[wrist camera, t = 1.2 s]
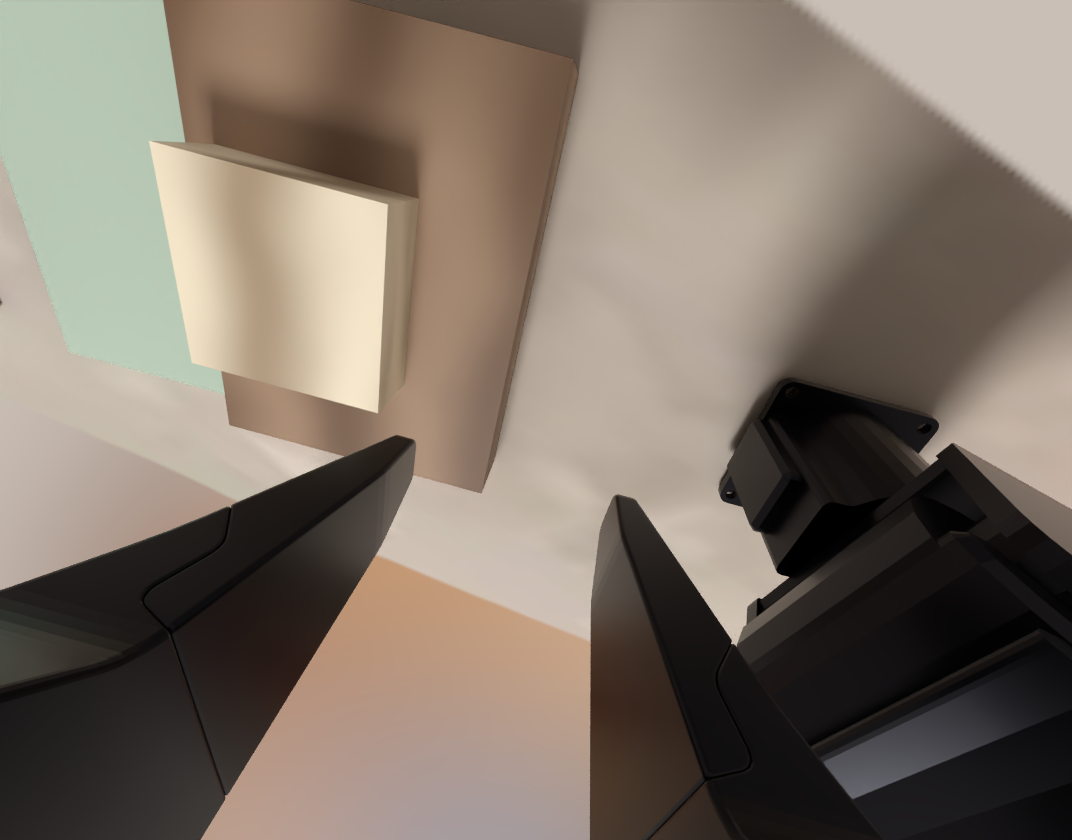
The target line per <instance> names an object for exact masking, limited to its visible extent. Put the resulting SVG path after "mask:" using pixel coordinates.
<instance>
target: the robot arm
mask: <svg viewBox="0 0 1072 840" xmlns="http://www.w3.org/2000/svg"><path fill="white" fill-rule="evenodd" d="M789 388H795V391H794V392H793V393H791V394H785V392H786V391H787V390H788V389H789ZM924 423H925V426H923V427H922V428H920V429H917V428H918V427H919V426H920V425H921V424H924ZM938 428H939V423H938V422H937V420H936V419H934V418H933V417H932V416H930V415H928V414H926V413H923V412H919V411H915V410H911V409H908V408H904V407H900V406H896V405H893V404H889V403H885V402H882V401H878V400H874V399H870V398H867V397H863V396H859V395H855V394H852V393H848V392H844V391H840V390H837V389H833V388H829V387H826V386H822V385H818V384H814V383H811V382H807V381H803V380H799V379H796V378H787V379H784V380H782V381H781V382H779V384H778V385H777V386H776V388H775V390H774V391H773V393H772V395H771V397H770V398H769V400H768V402H767V404H766V405H765V407H764V409H763V411H762V412H761V414H760V416H759V418H758V419H756V420H755V421H753V422H751V424H750V426H749V427H748V429H747V431H746V433H745V435H744V436H743V438H742V440H741V442H740V443H739V445H738V447H737V449H736V451H735V452H734V454H733V456H732V458H731V459H730V461H729V463H728V465H727V468H728V472H727V474H726V476H725V477H724V479H723V481H722V483H721V485H720V486H719V489H718V491H719V494H720V497H721V499H722V500H723V501H724V502H726V503H730V504H734V505H737V506H741V507H743V509H744V511H745V514H746V516H747V519H748V521H749V524H750V526H751V528H752V529H753V531H756V532H760V533H761V535H762V537H763V539H764V542H765V544H766V547H767V549H768V552H769V554H770V556H771V559H772V561H773V564H774V566H775V569H776V571H777V573H779V574H781V575H784V576H788V577H789V578H788V579H787V580H785V581H784V582H783V583H782V584H780V585H779V586H778V587H777V588H775V589H774V590H773V591H772V592H770V593H769V594H768V595H767V596H765V597H764V598H763V599H760V598H758V599H756V600H755V601H754V602H753V603H751V604H750V605H749V606H748V608H747V624H746V626H744V627H743V630H742V632H741V635H740V638H739V641H738V643H737V647H736V646H735V645H734V644H731V642H732V640H731V638H730V637H729V636H728V634H727V633H726V631H725V630H724V628H723V627H722V625H721V624H720V622H719V621H718V619H717V618H716V617H715V615H714V614H713V612H712V611H711V609H710V608H709V606H708V605H707V603H706V602H705V600H704V599H703V598H702V596H701V595H700V593H699V592H698V590H697V589H696V587H695V586H694V584H693V583H692V581H691V580H690V578H689V577H688V576H687V574H686V573H685V571H684V570H683V568H682V567H681V565H680V564H679V562H678V561H677V559H676V558H675V557H674V555H673V554H672V552H671V551H670V549H669V548H668V546H667V545H666V543H665V542H664V540H663V539H662V538H661V536H660V535H659V533H658V532H657V530H656V529H655V527H654V526H653V524H652V523H651V521H650V520H649V519H648V517H647V516H646V514H645V513H644V511H643V510H642V508H641V507H640V505H639V504H638V502H637V501H636V500H635V499H633V498H630V497H626V496H622V495H619V494H617V495H615V496H614V497H613V498H612V501H611V503H610V505H609V508H608V510H607V513H606V515H605V518H604V520H603V522H602V525H601V529H600V534H599V542H598V550H597V558H596V566H595V573H594V581H593V589H592V599H591V693H590V698H591V700H590V701H591V702H590V706H591V707H590V709H591V711H590V722H591V723H590V724H591V725H590V840H1072V509H1070V508H1068V507H1066V506H1065V505H1063V504H1061V503H1059V502H1058V501H1056V500H1054V499H1052V498H1050V497H1049V496H1047V495H1045V494H1043V493H1042V492H1040V491H1038V490H1036V489H1034V488H1033V487H1031V486H1029V485H1027V484H1026V483H1024V482H1022V481H1020V480H1018V479H1017V478H1015V477H1013V476H1011V475H1010V474H1008V473H1006V472H1004V471H1002V470H1001V469H999V468H997V467H995V466H994V465H992V464H990V463H988V462H986V461H985V460H983V459H981V458H979V457H978V456H976V455H974V454H972V453H970V452H969V451H967V450H965V449H963V448H962V447H960V446H958V445H956V444H954V443H951V444H950V445H949V446H948V447H946V448H945V449H944V450H943V451H941V452H940V453H939V454H938V455H936V457H937V458H938V460H937V461H936V462H934V463H933V464H932V465H931V466H930V465H929V464H928V463H927V462H926V461H925V460H924V459H923V458H922V457H921V456H920V455H919V452H920V451H921V450H922V449H923V448H924V446H925V445H926V444H927V443H928V442H929V440H930V439H931V438H932V437H933V435H934V434H935V433H936V432H937V430H938ZM415 453H416V442H415V440H414V439H411V438H407V437H404V436H400V435H394V436H391V437H389V438H387V439H384V440H382V441H380V442H377V443H375V444H373V445H370V446H368V447H366V448H363V449H361V450H359V451H356V452H354V453H352V454H349V455H347V456H345V457H342V458H340V459H338V460H335V461H333V462H331V463H328V464H326V465H324V466H321V467H319V468H316V469H314V470H312V471H309V472H307V473H305V474H302V475H300V476H298V477H295V478H293V479H291V480H288V481H286V482H284V483H281V484H279V485H277V486H274V487H272V488H270V489H267V490H265V491H263V492H260V493H258V494H256V495H253V496H251V497H249V498H246V499H244V500H242V501H239V502H237V503H235V504H233V505H232V506H231V508H230V507H225V508H222V509H220V510H218V511H215V512H213V513H211V514H209V515H206V516H204V517H201V518H199V519H196V520H194V521H191V522H189V523H186V524H184V525H181V526H179V527H176V528H174V529H172V530H169V531H167V532H164V533H161V534H159V535H156V536H153V537H150V538H147V539H145V540H142V541H139V542H137V543H134V544H131V545H128V546H126V547H123V548H120V549H117V550H114V551H112V552H109V553H106V554H103V555H100V556H98V557H95V558H92V559H89V560H86V561H83V562H80V563H77V564H74V565H72V566H69V567H66V568H63V569H60V570H57V571H54V572H52V573H49V574H46V575H43V576H40V577H37V578H34V579H32V580H29V581H26V582H23V583H21V584H17V585H14V586H12V587H9V588H5V589H2V590H0V840H200V839H201V838H202V836H203V835H204V833H205V831H206V830H207V828H208V826H209V825H210V823H211V821H212V820H213V818H214V817H215V815H216V814H217V812H218V810H219V809H220V807H221V805H222V804H223V802H224V801H225V795H228V793H229V792H230V790H231V789H232V787H233V785H234V784H235V782H236V780H237V779H238V777H239V776H240V774H241V772H242V771H243V769H244V768H245V766H246V764H247V763H248V761H249V760H250V758H251V756H252V754H253V753H254V751H255V750H256V748H257V747H258V745H259V743H260V742H261V740H262V738H263V737H264V735H265V733H266V732H267V730H268V729H269V727H270V726H271V723H272V722H273V721H274V719H275V717H276V716H277V714H278V713H279V711H280V709H281V708H282V706H283V704H284V703H285V701H286V700H287V698H288V696H289V695H290V693H291V691H292V690H293V688H294V687H295V685H296V683H297V682H298V680H299V678H300V677H301V675H302V674H303V672H304V670H305V669H306V667H307V666H308V664H309V662H310V661H311V659H312V657H313V656H314V654H315V653H316V651H317V649H318V648H319V646H320V644H321V643H322V641H323V639H324V638H325V636H326V635H327V633H328V631H329V630H330V628H331V626H332V625H333V623H334V622H335V620H336V619H337V617H338V615H339V613H340V612H341V610H342V609H343V607H344V606H345V604H346V602H347V601H348V599H349V597H350V596H351V594H352V593H353V591H354V589H355V588H356V586H357V584H358V583H359V581H360V580H361V578H362V576H363V575H364V573H365V571H366V570H367V568H368V567H369V565H370V563H371V562H372V560H373V558H374V557H375V555H376V554H377V552H378V550H379V548H380V547H381V545H382V543H383V541H384V539H385V537H386V535H387V532H388V530H389V528H390V526H391V524H392V522H393V519H394V517H395V515H396V513H397V511H398V509H399V506H400V504H401V502H402V500H403V498H404V496H405V494H406V491H407V489H408V487H409V485H410V483H411V480H412V477H413V472H414V463H415ZM731 490H733V491H734V492H733V493H731V494H727V492H728V491H731Z"/></svg>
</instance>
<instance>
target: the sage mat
mask: <svg viewBox="0 0 1072 840" xmlns="http://www.w3.org/2000/svg"><path fill="white" fill-rule="evenodd" d="M149 141H165V142H185V138H184V131H183V125H182V119H181V112H180V106H179V99H178V93H177V87H176V80H175V74H174V68H173V61H172V55H171V49H170V42H169V36H168V29H167V23H166V17H165V10H164V4H163V0H0V154H1V157H2V160H3V163H4V166H5V169H6V172H7V174H8V177H9V180H10V183H11V186H12V189H13V192H14V195H15V198H16V201H17V203H18V206H19V209H20V212H21V215H22V218H23V221H24V224H25V227H26V229H27V232H28V235H29V238H30V241H31V244H32V247H33V250H34V253H35V256H36V258H37V261H38V264H39V267H40V270H41V273H42V276H43V279H44V282H45V285H46V287H47V290H48V293H49V296H50V299H51V302H52V305H53V308H54V311H55V314H56V316H57V319H58V322H59V325H60V328H61V331H62V334H63V337H64V340H65V343H66V345H67V348H68V351H69V352H70V353H74V354H78V355H81V356H85V357H89V358H92V359H96V360H100V361H104V362H107V363H111V364H115V365H118V366H122V367H126V368H129V369H133V370H137V371H140V372H144V373H148V374H152V375H155V376H159V377H163V378H166V379H170V380H174V381H177V382H181V383H185V384H188V385H192V386H196V387H199V388H203V389H207V390H211V391H214V392H218V393H222V394H225V392H224V386H223V380H222V373H221V371H220V370H216V369H212V368H209V367H205V366H201V365H198V364H194V363H192V361H191V356H190V351H189V346H188V341H187V335H186V330H185V325H184V320H183V315H182V309H181V304H180V299H179V294H178V289H177V283H176V278H175V273H174V268H173V263H172V258H171V252H170V247H169V242H168V237H167V232H166V226H165V221H164V216H163V211H162V206H161V201H160V195H159V190H158V185H157V180H156V175H155V169H154V164H153V159H152V154H151V149H150V144H149Z"/></svg>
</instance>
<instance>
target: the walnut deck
mask: <svg viewBox="0 0 1072 840" xmlns="http://www.w3.org/2000/svg"><path fill="white" fill-rule="evenodd" d="M163 4H164V10H165V17H166V23H167V29H168V36H169V42H170V49H171V55H172V61H173V68H174V74H175V80H176V87H177V93H178V99H179V106H180V112H181V119H182V125H183V131H184V138H185V143H205V144H216V145H219V146H223V147H227V148H231V149H234V150H238V151H242V152H246V153H249V154H253V155H257V156H261V157H264V158H268V159H272V160H276V161H279V162H283V163H287V164H291V165H294V166H298V167H302V168H306V169H309V170H313V171H317V172H321V173H324V174H328V175H332V176H336V177H339V178H343V179H347V180H351V181H354V182H358V183H362V184H366V185H369V186H373V187H377V188H381V189H384V190H388V191H392V192H396V193H399V194H403V195H407V196H411V197H414V198H418V199H419V204H418V216H417V229H416V241H415V254H414V267H413V279H412V292H411V304H410V317H409V329H408V342H407V354H406V367H405V379H404V386H403V387H402V388H401V389H400V390H399V391H398V392H397V393H396V394H395V395H394V396H393V398H392V399H391V400H390V401H389V402H388V403H387V404H386V405H385V406H384V407H383V408H382V409H381V410H380V412H379V413H375V412H371V411H368V410H364V409H360V408H357V407H353V406H349V405H345V404H342V403H338V402H334V401H331V400H327V399H323V398H320V397H316V396H312V395H308V394H305V393H301V392H297V391H294V390H290V389H286V388H283V387H279V386H275V385H272V384H268V383H264V382H260V381H257V380H253V379H249V378H246V377H242V376H238V375H235V374H231V373H227V372H223V371H221V373H222V380H223V386H224V392H225V399H226V405H227V411H228V418H229V424H230V425H231V426H235V427H239V428H242V429H246V430H250V431H254V432H257V433H261V434H265V435H268V436H272V437H276V438H279V439H283V440H287V441H290V442H294V443H298V444H301V445H305V446H309V447H312V448H316V449H320V450H323V451H327V452H331V453H335V454H338V455H342V456H347V455H349V454H352V453H354V452H356V451H359V450H361V449H363V448H366V447H368V446H370V445H373V444H375V443H377V442H380V441H382V440H384V439H387V438H389V437H391V436H394V435H400V436H404V437H407V438H411V439H414V440H415V442H416V453H415V463H414V472H413V475H416V476H419V477H423V478H427V479H430V480H434V481H438V482H441V483H445V484H449V485H452V486H456V487H460V488H463V489H467V490H471V491H474V492H478V493H482V490H483V488H484V485H485V483H486V480H487V478H488V475H489V472H490V470H491V467H492V465H493V462H494V457H495V453H496V448H497V444H498V439H499V435H500V430H501V425H502V421H503V416H504V412H505V407H506V403H507V398H508V394H509V389H510V384H511V380H512V375H513V371H514V366H515V362H516V357H517V352H518V348H519V343H520V339H521V334H522V330H523V325H524V321H525V316H526V311H527V307H528V302H529V298H530V293H531V289H532V284H533V280H534V275H535V270H536V266H537V261H538V257H539V252H540V248H541V243H542V238H543V234H544V229H545V225H546V220H547V216H548V211H549V207H550V202H551V197H552V193H553V188H554V184H555V179H556V175H557V170H558V166H559V161H560V156H561V152H562V147H563V143H564V138H565V134H566V129H567V124H568V120H569V115H570V111H571V106H572V102H573V97H574V93H575V88H576V83H577V79H578V71H577V69H576V66H575V63H574V60H573V59H572V58H568V57H565V56H561V55H557V54H553V53H549V52H546V51H542V50H538V49H534V48H530V47H527V46H523V45H519V44H515V43H511V42H508V41H504V40H500V39H496V38H492V37H489V36H485V35H481V34H477V33H473V32H470V31H466V30H462V29H458V28H455V27H451V26H447V25H443V24H439V23H436V22H432V21H428V20H424V19H420V18H417V17H413V16H409V15H405V14H401V13H398V12H394V11H390V10H386V9H382V8H379V7H375V6H371V5H367V4H363V3H360V2H356V1H352V0H163Z"/></svg>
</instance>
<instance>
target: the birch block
mask: <svg viewBox="0 0 1072 840" xmlns="http://www.w3.org/2000/svg"><path fill="white" fill-rule="evenodd" d="M149 144H150V149H151V154H152V159H153V164H154V169H155V175H156V180H157V185H158V190H159V195H160V201H161V206H162V211H163V216H164V221H165V226H166V232H167V237H168V242H169V247H170V252H171V258H172V263H173V268H174V273H175V278H176V283H177V289H178V294H179V299H180V304H181V309H182V315H183V320H184V325H185V330H186V335H187V341H188V346H189V351H190V356H191V361H192V363H194V364H198V365H201V366H205V367H209V368H212V369H216V370H220V371H223V372H227V373H231V374H235V375H238V376H242V377H246V378H249V379H253V380H257V381H260V382H264V383H268V384H272V385H275V386H279V387H283V388H286V389H290V390H294V391H297V392H301V393H305V394H308V395H312V396H316V397H320V398H323V399H327V400H331V401H334V402H338V403H342V404H345V405H349V406H353V407H357V408H360V409H364V410H368V411H371V412H375V413H379V412H380V410H381V409H382V408H383V407H384V406H385V405H386V404H387V403H388V402H389V401H390V400H391V399H392V398H393V396H394V395H395V394H396V393H397V392H398V391H399V390H400V389H401V388H402V387H403V386H404V379H405V367H406V354H407V342H408V329H409V317H410V304H411V292H412V279H413V267H414V254H415V241H416V229H417V216H418V204H419V199H418V198H414V197H411V196H407V195H403V194H399V193H396V192H392V191H388V190H384V189H381V188H377V187H373V186H369V185H366V184H362V183H358V182H354V181H351V180H347V179H343V178H339V177H336V176H332V175H328V174H324V173H321V172H317V171H313V170H309V169H306V168H302V167H298V166H294V165H291V164H287V163H283V162H279V161H276V160H272V159H268V158H264V157H261V156H257V155H253V154H249V153H246V152H242V151H238V150H234V149H231V148H227V147H223V146H219V145H216V144H205V143H185V142H165V141H149Z"/></svg>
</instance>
